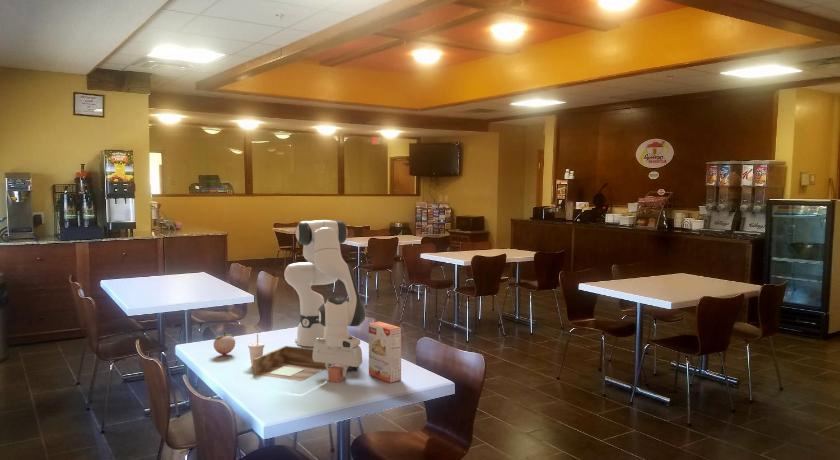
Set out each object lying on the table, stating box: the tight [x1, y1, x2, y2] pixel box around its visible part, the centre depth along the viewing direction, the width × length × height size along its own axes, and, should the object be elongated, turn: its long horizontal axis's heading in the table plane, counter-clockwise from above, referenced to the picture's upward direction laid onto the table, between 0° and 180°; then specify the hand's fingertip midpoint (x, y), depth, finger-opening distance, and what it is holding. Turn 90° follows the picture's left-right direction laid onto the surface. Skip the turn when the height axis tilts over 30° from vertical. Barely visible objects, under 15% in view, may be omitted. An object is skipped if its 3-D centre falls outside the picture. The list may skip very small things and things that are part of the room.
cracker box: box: [368, 321, 402, 384], centre depth 231 cm, size 14×6×21 cm, turn 40°
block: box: [327, 364, 346, 383], centre depth 229 cm, size 6×4×5 cm, turn 159°
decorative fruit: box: [213, 332, 236, 356], centre depth 261 cm, size 9×8×10 cm
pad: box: [269, 366, 305, 377], centre depth 236 cm, size 10×10×1 cm
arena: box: [252, 345, 332, 382], centre depth 238 cm, size 22×22×7 cm
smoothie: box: [247, 333, 265, 368], centre depth 243 cm, size 6×6×14 cm
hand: (336, 375), depth 229 cm, fingers closed on block, 4 cm apart
